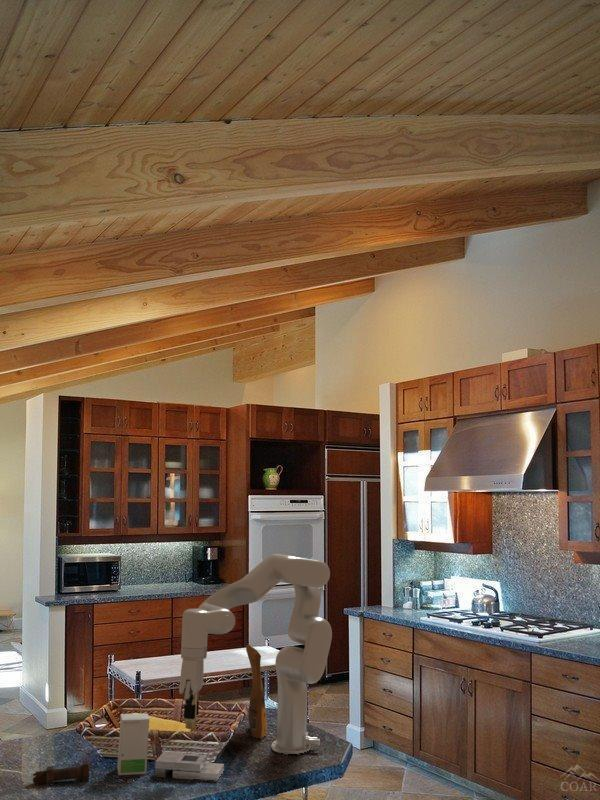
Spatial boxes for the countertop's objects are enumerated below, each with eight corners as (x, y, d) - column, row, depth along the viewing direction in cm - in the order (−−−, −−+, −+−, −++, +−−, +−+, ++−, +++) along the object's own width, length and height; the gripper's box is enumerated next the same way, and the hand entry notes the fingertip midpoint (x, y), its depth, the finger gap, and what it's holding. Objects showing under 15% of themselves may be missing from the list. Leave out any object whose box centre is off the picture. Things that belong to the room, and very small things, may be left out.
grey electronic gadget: (223, 771, 237) (224, 755, 237) (217, 781, 229) (218, 765, 230) (163, 766, 239) (163, 751, 240) (154, 776, 232) (155, 761, 232)
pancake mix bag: (248, 741, 263) (251, 653, 266) (243, 723, 282) (245, 641, 285) (268, 740, 264) (271, 653, 267) (262, 722, 283) (264, 641, 286)
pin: (196, 726, 237) (198, 691, 238) (194, 729, 234) (195, 693, 235) (187, 725, 237) (188, 690, 238) (184, 728, 234) (185, 693, 235)
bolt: (32, 790, 224) (88, 783, 229) (32, 787, 220) (89, 780, 225) (33, 768, 227) (88, 762, 232) (33, 764, 223) (89, 758, 228)
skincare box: (118, 776, 231) (120, 720, 233) (116, 767, 238) (119, 713, 239) (147, 774, 233) (149, 718, 235) (145, 765, 240) (147, 711, 241)
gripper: (188, 645, 246) (186, 708, 244) (173, 657, 230) (170, 724, 228) (212, 647, 245) (210, 709, 243) (199, 659, 229) (196, 726, 227)
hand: (191, 716), depth 236 cm, fingers closed on pin, 3 cm apart
